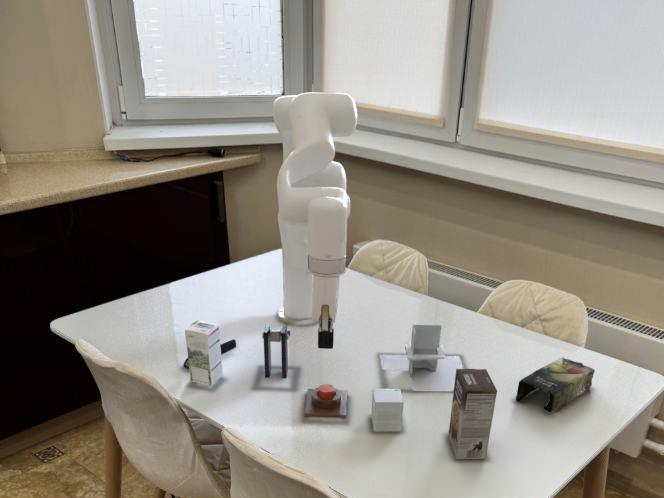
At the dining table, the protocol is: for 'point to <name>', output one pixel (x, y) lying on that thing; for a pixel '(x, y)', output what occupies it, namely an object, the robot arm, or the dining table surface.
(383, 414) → the product box
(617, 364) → the dining table surface
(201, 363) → the syrup box
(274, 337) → the switch lever
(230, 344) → the electric trimmer
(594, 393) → the dining table surface
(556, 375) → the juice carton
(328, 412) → the button housing
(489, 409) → the coffee box
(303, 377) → the dining table surface
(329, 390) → the button
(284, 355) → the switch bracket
